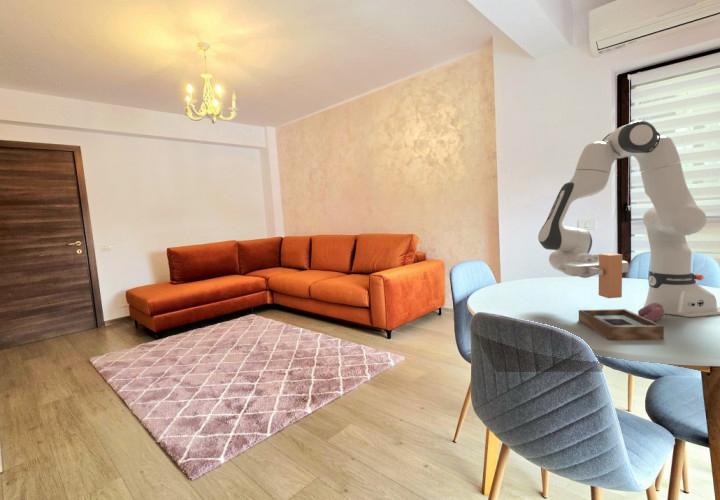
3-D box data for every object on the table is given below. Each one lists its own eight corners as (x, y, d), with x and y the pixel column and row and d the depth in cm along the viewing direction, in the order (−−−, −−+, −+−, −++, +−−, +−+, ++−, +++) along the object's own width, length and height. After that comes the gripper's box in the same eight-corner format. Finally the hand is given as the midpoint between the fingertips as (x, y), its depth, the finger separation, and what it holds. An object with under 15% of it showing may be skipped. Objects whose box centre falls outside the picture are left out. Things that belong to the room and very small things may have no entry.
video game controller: (656, 328, 115) (669, 311, 112) (641, 321, 116) (654, 304, 114) (650, 319, 123) (662, 303, 121) (636, 313, 125) (647, 296, 123)
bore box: (624, 320, 120) (624, 309, 119) (663, 339, 102) (663, 326, 101) (578, 321, 121) (578, 310, 121) (608, 340, 104) (609, 327, 103)
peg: (611, 294, 116) (611, 253, 114) (621, 297, 111) (622, 254, 110) (598, 295, 115) (598, 254, 114) (608, 298, 111) (609, 255, 110)
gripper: (555, 258, 125) (581, 264, 111) (609, 254, 125) (642, 259, 112) (555, 275, 125) (581, 283, 112) (609, 271, 126) (642, 278, 112)
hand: (612, 271), depth 112 cm, fingers closed on peg, 4 cm apart
